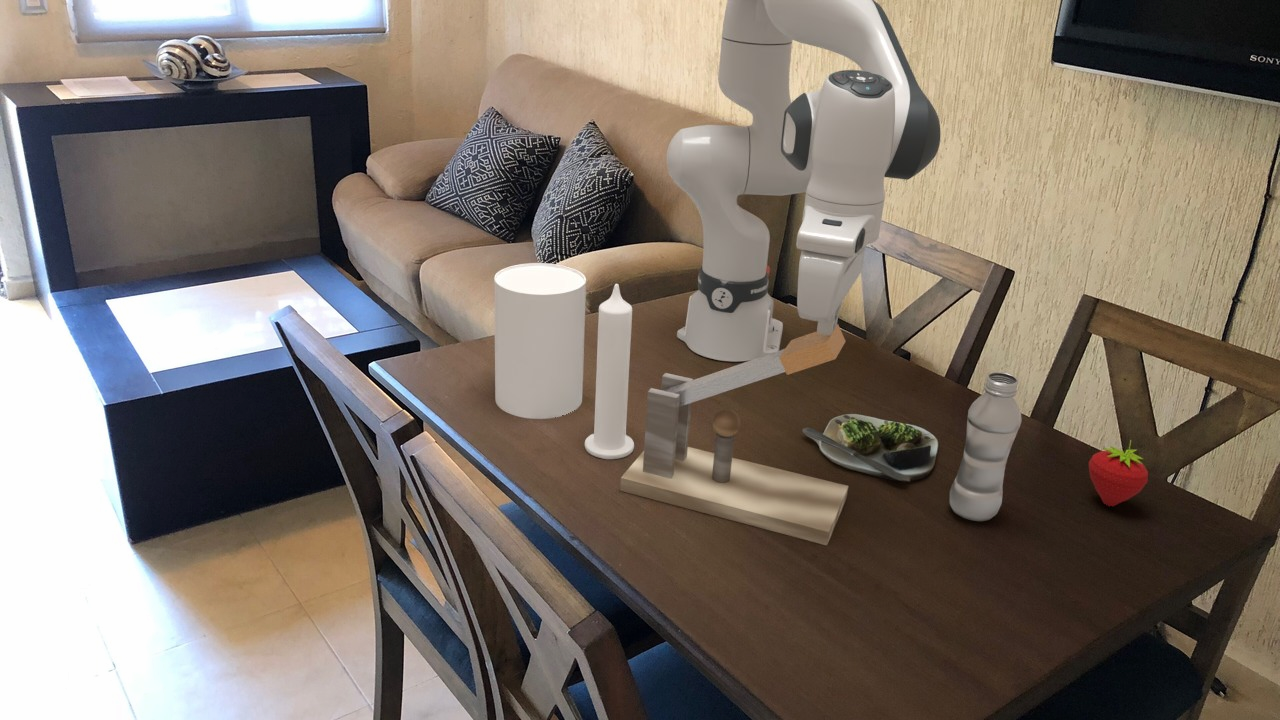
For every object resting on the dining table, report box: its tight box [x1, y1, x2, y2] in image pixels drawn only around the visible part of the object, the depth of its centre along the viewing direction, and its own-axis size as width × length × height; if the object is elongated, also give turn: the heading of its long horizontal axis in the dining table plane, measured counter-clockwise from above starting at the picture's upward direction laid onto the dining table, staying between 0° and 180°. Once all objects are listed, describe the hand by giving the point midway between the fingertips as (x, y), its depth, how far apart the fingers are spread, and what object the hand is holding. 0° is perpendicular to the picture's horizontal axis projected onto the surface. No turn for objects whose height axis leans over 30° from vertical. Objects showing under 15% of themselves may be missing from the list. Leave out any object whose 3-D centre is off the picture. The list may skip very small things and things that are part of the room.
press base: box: [619, 372, 849, 546], centre depth 131 cm, size 12×28×14 cm, turn 68°
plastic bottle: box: [949, 371, 1022, 522], centre depth 129 cm, size 6×7×20 cm
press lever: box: [663, 323, 847, 407], centre depth 127 cm, size 6×26×2 cm
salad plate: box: [802, 413, 940, 482], centre depth 147 cm, size 19×18×5 cm
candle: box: [584, 283, 635, 460], centre depth 139 cm, size 7×7×25 cm
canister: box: [493, 262, 587, 420], centre depth 153 cm, size 14×14×20 cm
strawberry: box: [1088, 439, 1149, 507], centre depth 135 cm, size 6×8×10 cm
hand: (826, 331), depth 121 cm, fingers closed, pressing on press lever
